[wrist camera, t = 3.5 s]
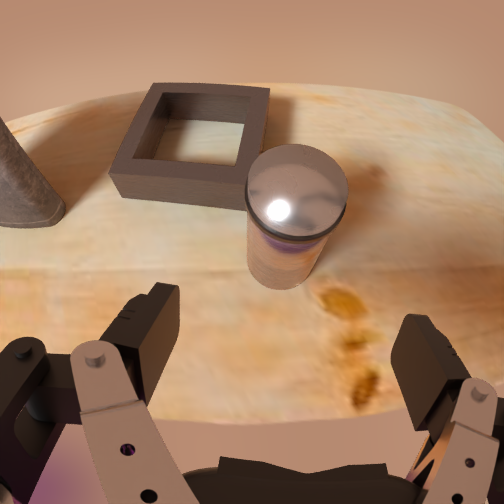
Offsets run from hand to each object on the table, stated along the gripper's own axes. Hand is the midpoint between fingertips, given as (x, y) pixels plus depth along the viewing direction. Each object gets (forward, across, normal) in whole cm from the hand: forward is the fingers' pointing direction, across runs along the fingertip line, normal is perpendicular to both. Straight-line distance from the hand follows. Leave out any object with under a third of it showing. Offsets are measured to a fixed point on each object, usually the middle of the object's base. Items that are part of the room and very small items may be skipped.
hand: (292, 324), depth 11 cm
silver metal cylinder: (+13, 0, +3) cm, 13 cm away
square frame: (+19, +8, -4) cm, 21 cm away
